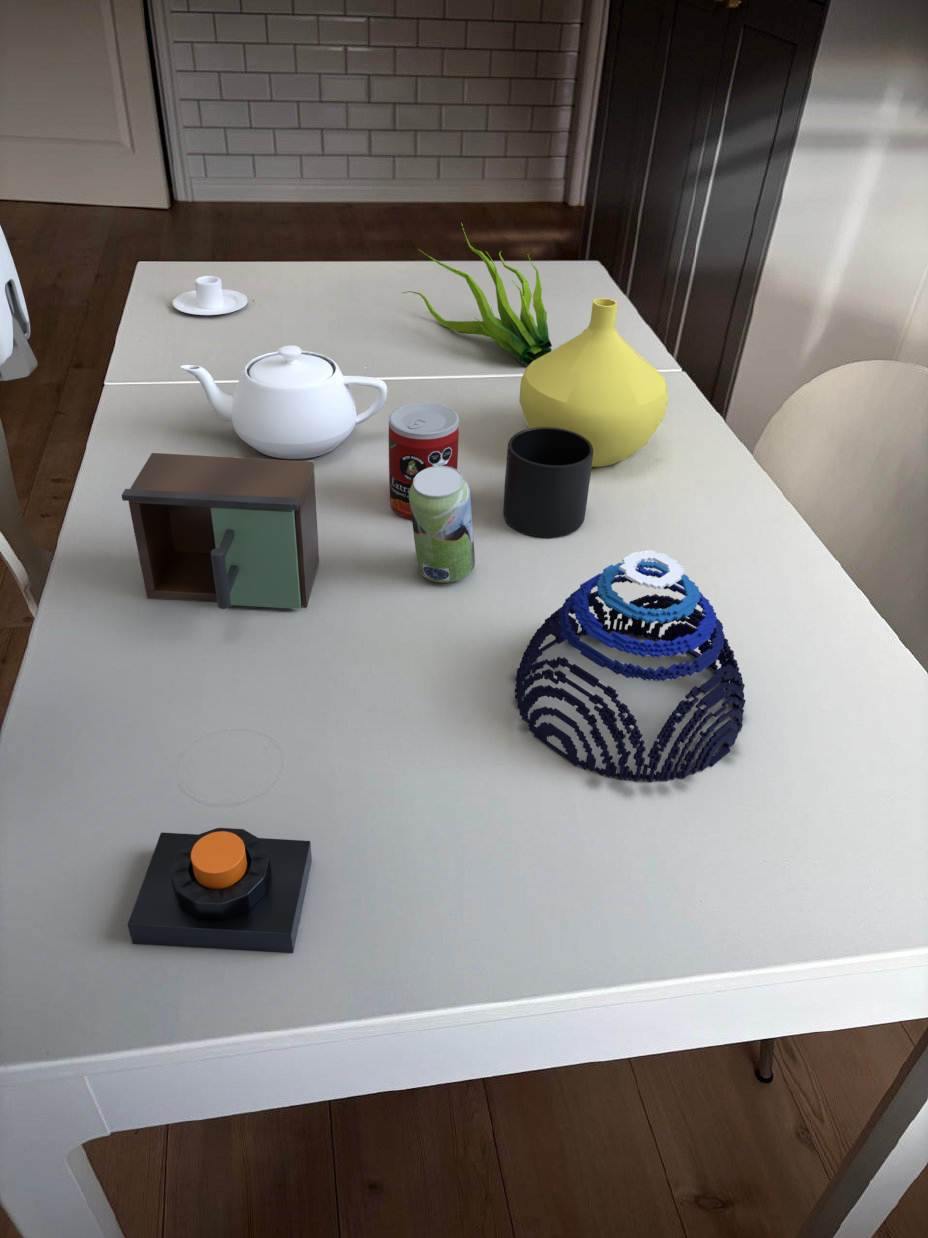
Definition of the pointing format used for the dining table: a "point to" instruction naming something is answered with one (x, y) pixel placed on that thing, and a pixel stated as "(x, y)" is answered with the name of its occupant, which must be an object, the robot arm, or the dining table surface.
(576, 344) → the vase
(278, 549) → the closet door
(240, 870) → the button
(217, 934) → the switch block
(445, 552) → the beverage can
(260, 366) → the teapot
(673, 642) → the decorative bowl
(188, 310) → the candle holder
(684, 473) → the dining table surface
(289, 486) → the closet
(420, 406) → the canned food
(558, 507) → the mug
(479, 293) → the decorative plant
